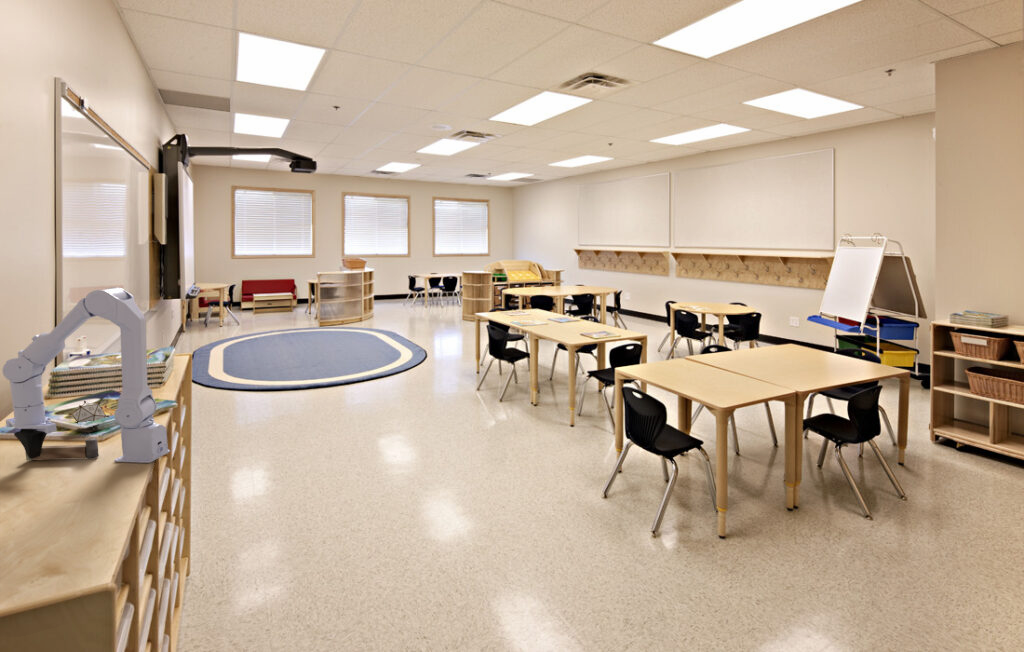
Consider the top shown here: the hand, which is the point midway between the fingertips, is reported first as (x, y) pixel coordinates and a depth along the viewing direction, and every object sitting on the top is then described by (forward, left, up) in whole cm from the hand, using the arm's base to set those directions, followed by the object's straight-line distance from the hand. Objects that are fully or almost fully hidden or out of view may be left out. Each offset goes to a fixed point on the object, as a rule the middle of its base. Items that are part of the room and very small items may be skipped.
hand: (34, 457), depth 135 cm
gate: (-5, -3, -1) cm, 6 cm away
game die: (+8, -26, -2) cm, 28 cm away
